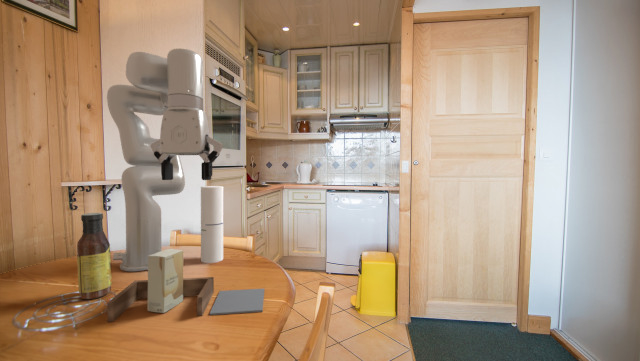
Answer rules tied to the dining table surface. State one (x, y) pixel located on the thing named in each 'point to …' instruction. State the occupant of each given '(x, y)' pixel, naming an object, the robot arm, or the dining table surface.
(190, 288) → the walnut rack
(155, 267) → the skincare box
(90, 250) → the sauce bottle
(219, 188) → the cylindrical container
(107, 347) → the dining table surface
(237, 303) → the grey rubber mat
